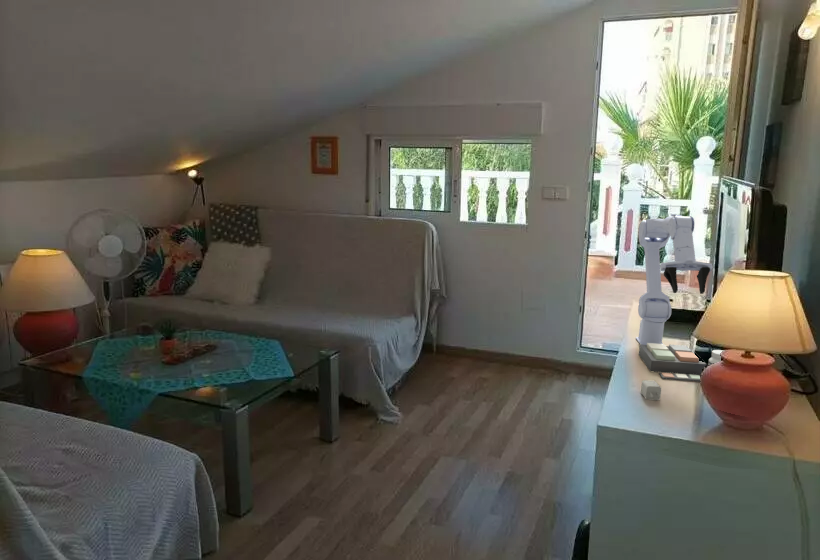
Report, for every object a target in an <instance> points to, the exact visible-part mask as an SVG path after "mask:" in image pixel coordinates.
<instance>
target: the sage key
mask: <svg viewBox="0 0 820 560" xmlns="http://www.w3.org/2000/svg"><path fill="white" fill-rule="evenodd" d="M652 355H653V356H654V358H655V359H660V360H674V361H675V356H674V355H673V354H672V352H671V351H664V350H652Z"/></svg>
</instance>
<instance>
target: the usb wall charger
mask: <svg viewBox="0 0 820 560" xmlns="http://www.w3.org/2000/svg"><path fill="white" fill-rule="evenodd" d="M640 393H641V395H643V397H644V398H645V400H647V399H650V400H649V401H659V400H660V399H661V395H662V387H661V385H659V384H658V382H657V381H656V380H648V379H645V380H642V381H641V385H640Z"/></svg>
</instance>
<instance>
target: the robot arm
mask: <svg viewBox="0 0 820 560" xmlns="http://www.w3.org/2000/svg"><path fill="white" fill-rule="evenodd" d="M694 230H695V218H694V217H693V216H691V215H689V216H686V215H682V214H676V213H670V215H668V216H667V217H665V218H650V219H649V218H647V219H643V220H642V221H641V222H640V223H639V227H638V241H639V245H640V246H641V247H642V248H643V250H644V260H645V263H644V264H645V276H646V277H645V278H646V280H645V282H646V292H645V293H643V294H642V295H641V296H640V297H639V299H638V307H637V311H638V316H639V317H640V318H641V320H640V322H639V331H638V336H635V339H636V341H637V342H638V343H639V345H640V344H642V345H647V343H656V344H664V343H663V336H664V329H665V322H667V320H669V319H670V317H672V316H671V315H672V305H671V300H670V296H668V295H667V294H665V293H664V292H663V291H662V279H661V278H662V275H661V273H662V272H663V276H664V277H665V279H666V280H667V281H668V284H669V285H670V287H671V290H672V292H673V294H677V292H678V291H679V288H678V287H679V285H678V279H677V278H678V277H677V271H681V272H686V271H693V272H695V271H697V272H698V273H697V274H696V278H697V281H698V289H699V293H700V295H704V293H705V292H706V285H707V284H706V283H707V281H708V280H707V279H708V276H709V273H711V272H712V271H713V264H712V263H707V262H702V261H697V260H696V254H695V253H696V252H695V246H694V245H695V244H694V236H693V232H694ZM669 239H671V240H672V245H673V253H674V255H673V256H674V261H667V262H661V261H660V260H661V259H660V258H661V257H660V249H662V248H663V247H666V245H667V244H668V242H669ZM661 271H662V272H661Z"/></svg>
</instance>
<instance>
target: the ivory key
mask: <svg viewBox="0 0 820 560" xmlns="http://www.w3.org/2000/svg"><path fill="white" fill-rule="evenodd" d="M666 346H667V345H666V344H665V343H663V344H656V343H647V349H648V350H649V351H650V352H652V350H664V351H669V349H668V348H667V347H666Z"/></svg>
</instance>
